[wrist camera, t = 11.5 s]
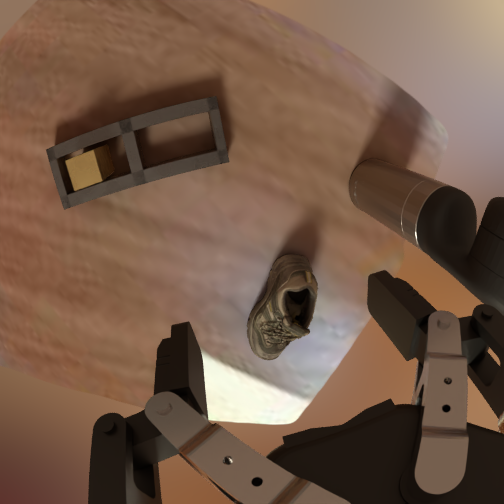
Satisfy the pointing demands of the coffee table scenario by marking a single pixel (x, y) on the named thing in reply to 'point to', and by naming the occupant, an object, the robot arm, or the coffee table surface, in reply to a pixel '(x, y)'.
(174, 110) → the dark grey rectangular tray
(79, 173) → the block
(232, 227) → the coffee table surface
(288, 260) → the hiking shoe
